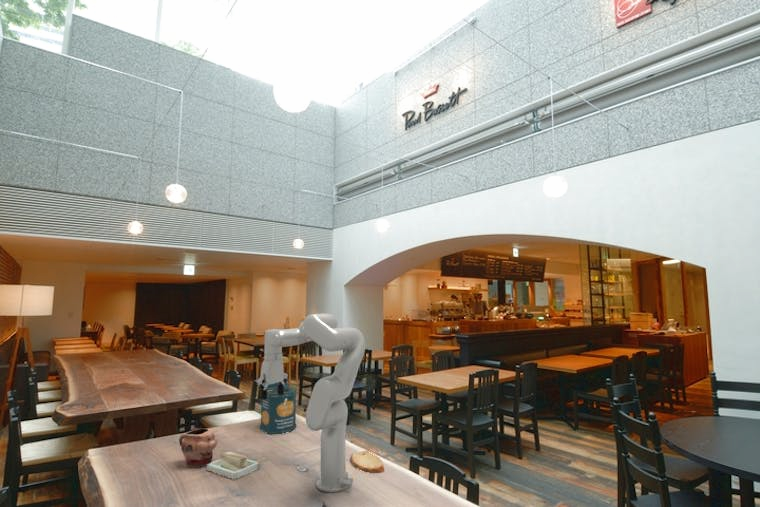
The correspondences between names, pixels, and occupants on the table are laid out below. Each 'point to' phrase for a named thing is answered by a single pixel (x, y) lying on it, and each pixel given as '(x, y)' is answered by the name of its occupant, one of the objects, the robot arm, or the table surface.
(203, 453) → the decorative planter
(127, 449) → the table surface
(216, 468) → the tray
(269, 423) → the donation box
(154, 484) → the table surface
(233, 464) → the birch block
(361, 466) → the tan flat crusted slab
